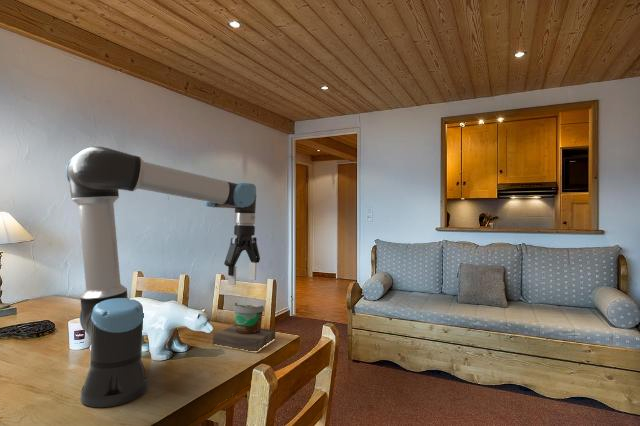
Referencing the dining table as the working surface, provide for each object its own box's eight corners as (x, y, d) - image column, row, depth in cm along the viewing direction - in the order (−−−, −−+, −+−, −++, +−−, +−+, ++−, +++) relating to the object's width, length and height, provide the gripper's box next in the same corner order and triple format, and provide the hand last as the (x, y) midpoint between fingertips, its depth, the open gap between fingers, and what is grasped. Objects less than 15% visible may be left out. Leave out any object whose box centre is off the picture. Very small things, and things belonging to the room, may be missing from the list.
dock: (256, 353, 123) (256, 341, 123) (212, 345, 130) (213, 334, 130) (275, 340, 136) (275, 330, 136) (234, 334, 143) (235, 324, 143)
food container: (225, 333, 132) (226, 305, 132) (234, 328, 138) (235, 302, 138) (256, 337, 128) (256, 309, 128) (263, 332, 134) (264, 305, 134)
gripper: (233, 225, 120) (231, 288, 120) (269, 225, 144) (268, 278, 143) (215, 224, 123) (212, 286, 123) (253, 224, 146) (251, 276, 146)
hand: (242, 282), depth 133 cm, fingers open, 13 cm apart
